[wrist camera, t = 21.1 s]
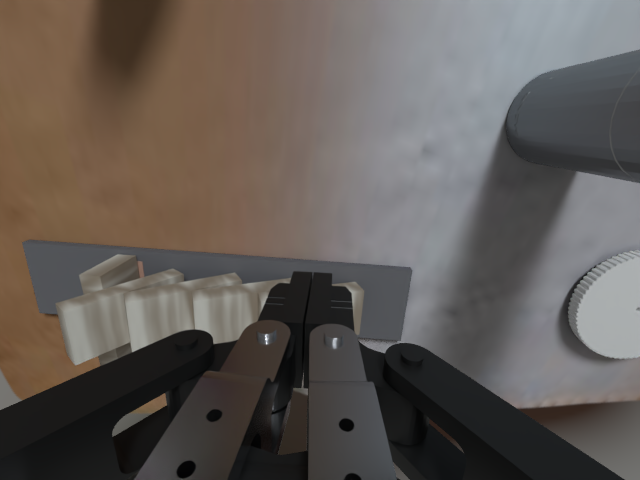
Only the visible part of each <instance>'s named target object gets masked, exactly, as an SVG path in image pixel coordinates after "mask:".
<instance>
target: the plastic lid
mask: <svg viewBox="0 0 640 480" xmlns="http://www.w3.org/2000/svg"><path fill="white" fill-rule="evenodd" d="M583 278H584V279H583V280H581V281H580V284H578V285H577V288H576V289H574V291H575V292H574V293H572V298H570V300H571V302H569V305H570V306H569V307H568V309H569V311H568V314H569V315H568V318H569V320H568V321H569V322H570V324H569V325H570V326H571V329H572V330H573V333H574V334H575V336H576V337H578V339H579V340H580V341H581V342H583V343H584V344H585V345H586V346H587V347H588V348H589V349H591V350H592V351H595V352H596V353H597V354H598V353H599V354H600V355H604V356H605V357H607V356H608V357H610V358H612V357H613V358H615V359H617V358H619V359H622V358H624V359H627V358H630V359H632V358H633V357H635V358H638V357H639V356H640V251H638V250H635V251H634V252H633V251H629V252H628V253H626V252H624V253H623V254H618V255H617V256H616V257H615V256H613V257H612V258H611V259H607V260H606V261H605V262H601V264H600V265H597V266H596V268H595V269H594V268H593V269H592V271H591V272H588V273H587V276H584V277H583Z"/></svg>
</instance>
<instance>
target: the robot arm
mask: <svg viewBox="0 0 640 480" xmlns="http://www.w3.org/2000/svg"><path fill="white" fill-rule="evenodd" d="M506 127H507V136H508V139H509V142H510V145H511V146H512V148H513V149H514V151H515V152H516V153H517V154H518V155H519V156H520V157H522V158H524V159H526V160H527V161H530V162H534V163H538V164H543V165H549V166H554V167H558V168H563V169H568V170H574V171H579V172H584V173H589V174H595V175H600V176H605V177H610V178H616V179H621V180H626V181H631V182H637V183H640V50H636V51H632V52H627V53H623V54H619V55H615V56H611V57H607V58H603V59H599V60H595V61H591V62H586V63H582V64H578V65H573V66H569V67H565V68H561V69H557V70H553V71H550V72H547V73H544V74H542V75H540V76H538V77H536V78H535V79H533V80H531V81H530V82H529V83H528V84H527V85H526V86H525V87H523V89H522V90H521V91H520V92H519V94H518V95H517V96H516V98H515V99H514V101H513V103H512V105H511V107H510V110H509V113H508V117H507V124H506ZM303 373H304V388H308V409H307V451H304V452H298V453H292V454H286V455H278V452H279V448H280V445H281V441H282V437H283V433H284V429H285V426H286V422H287V418H288V415H289V411H290V399H291V397H292V393H293V388H301V387H302V380H303ZM164 393H165V394H166V401H167V406H165V407H163V408H161V409H160V410H158V411H156V412H155V413H153V414H151V415H150V416H148V417H146V418H144V419H143V420H141V421H140V422H138V423H136V424H134V425H133V426H131V427H129V428H128V429H126V430H124V431H122V432H121V433H119V434H117V435H116V436H114V437H112V431H113V428H114V426H115V425H116V423H117V422H118V421H119V420H120V419H121V418H122V417H123V416H125V415H126V414H128V413H130V412H132V411H133V410H135V409H137V408H139V407H141V406H142V405H144V404H146V403H148V402H149V401H151V400H153V399H155V398H157V397H158V396H160V395H162V394H164ZM429 419H431V420H432V421H433V422H435V423H436V424H437V425H438V426H439V427H440V428H442V429H443V430H444V431H445V432H446V433H448V434H449V435H450V436H451V437H452V438H453V439H455V440H456V441H457V443H458V444H459V445H460V446H461V448H462V449H463V451H464V453H463V452H462V451H460V450H459V449H458V448H457V447H456V446H455V445H453V444H452V443H451V442H450V441H449V440H448V439H446V438H445V437H444V436H443V435H442V434H440V432H438V431H437V430H436V429H435V428H434V427H433V426H431V425H430V424H429ZM393 462H394V463H395V464H396V465H397V466H398V467H399V468H400V469H401V470H402V472H403V473H404V474H405V475H406V476H407V477H408V478H409V479H410V480H624V479H622V478H621V477H620V476H618V475H617V474H615V473H614V472H612V471H611V470H609V469H608V468H606V467H605V466H603V465H602V464H600V463H599V462H597V461H595V460H594V459H592V458H591V457H589V456H588V455H586V454H585V453H583V452H582V451H580V450H579V449H577V448H576V447H574V446H573V445H571V444H570V443H568V442H567V441H565V440H564V439H562V438H561V437H559V436H558V435H556V434H555V433H553V432H551V431H550V430H548V429H547V428H545V427H544V426H542V425H541V424H539V423H538V422H536V421H535V420H533V419H532V418H530V417H529V416H527V415H526V414H524V413H523V412H521V411H520V410H518V409H517V408H515V407H514V406H512V405H511V404H509V403H508V402H506V401H504V400H503V399H501V398H500V397H498V396H497V395H495V394H494V393H492V392H491V391H489V390H488V389H486V388H485V387H483V386H482V385H480V384H479V383H477V382H476V381H474V380H473V379H471V378H470V377H468V376H467V375H465V374H464V373H462V372H460V371H459V370H457V369H456V368H454V367H453V366H451V365H450V364H448V363H447V362H445V361H444V360H442V359H441V358H439V357H438V356H436V355H435V354H433V353H432V352H430V351H429V350H427V349H425V348H423V347H421V346H418V345H415V344H409V343H399V344H395V345H392V346H391V347H389V348H388V349H387V350H386V353H381V352H378V351H374V350H372V349H369V348H367V347H366V346H364V345H363V344H361V343H360V342H359V341H358V337H357V335H356V333H355V331H354V317H353V304H352V293H351V292H350V291H349V290H348V289H347V287H346V286H332V273H320V272H314V273H313V279H312V272H301V271H293V274H292V277H291V280H290V283H278V284H277V285H275V286H274V287H273V288H271V289H270V292H269V294H268V298H267V299H266V302H265V304H264V306H263V309H262V311H261V314H260V316H259V318H258V321H257V322H255V323H252V324H250V325H249V326H247V327H246V328H245V329H244V331H243V332H242V334H241V336H240V337H239V339H238V340H235V341H231V342H224V343H218V344H214V343H213V337H212V336H211V334H209V333H208V332H206V331H203V330H196V329H192V330H184V331H180V332H177V333H175V334H172V335H170V336H168V337H166V338H163V339H161V340H159V341H156V342H154V343H152V344H150V345H147V346H145V347H143V348H141V349H138V350H136V351H134V352H132V353H129V354H127V355H125V356H122V357H120V358H118V359H116V360H113V361H111V362H109V363H107V364H104V365H102V366H100V367H97V368H95V369H93V370H91V371H88V372H86V373H84V374H82V375H79V376H77V377H75V378H72V379H70V380H68V381H66V382H63V383H61V384H59V385H57V386H54V387H52V388H50V389H48V390H45V391H43V392H41V393H38V394H36V395H34V396H32V397H29V398H27V399H25V400H23V401H20V402H18V403H16V404H13V405H11V406H9V407H7V408H4V409H2V410H0V480H400V479H398V478H397V477H396V473H395V469H394V465H393Z"/></svg>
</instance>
